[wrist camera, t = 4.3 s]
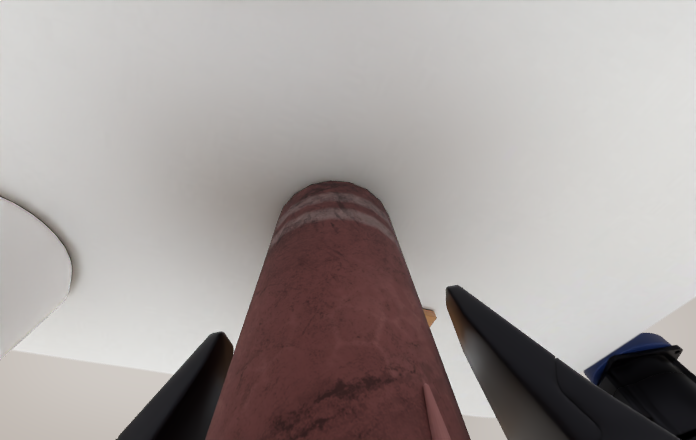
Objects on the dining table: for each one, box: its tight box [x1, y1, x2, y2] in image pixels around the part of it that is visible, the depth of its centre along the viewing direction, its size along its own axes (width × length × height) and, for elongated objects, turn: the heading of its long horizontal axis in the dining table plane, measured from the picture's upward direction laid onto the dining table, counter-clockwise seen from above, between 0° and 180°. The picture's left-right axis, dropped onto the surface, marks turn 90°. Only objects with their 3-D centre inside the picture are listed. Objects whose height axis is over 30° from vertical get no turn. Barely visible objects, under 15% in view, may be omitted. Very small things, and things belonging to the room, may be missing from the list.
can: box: [205, 181, 471, 440], centre depth 9 cm, size 6×6×14 cm
